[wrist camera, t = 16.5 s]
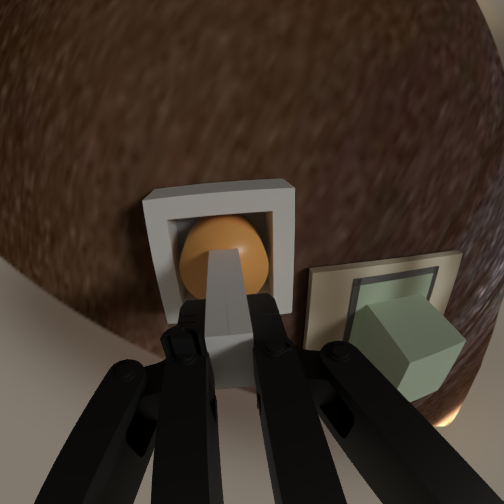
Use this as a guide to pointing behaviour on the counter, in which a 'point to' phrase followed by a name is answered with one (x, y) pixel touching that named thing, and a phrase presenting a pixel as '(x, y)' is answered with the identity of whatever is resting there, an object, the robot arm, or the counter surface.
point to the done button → (217, 238)
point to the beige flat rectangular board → (371, 292)
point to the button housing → (219, 203)
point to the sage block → (410, 344)
